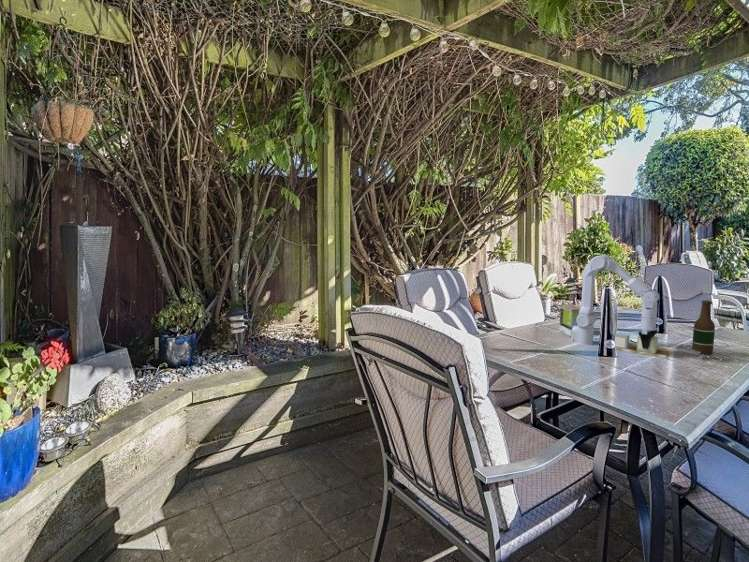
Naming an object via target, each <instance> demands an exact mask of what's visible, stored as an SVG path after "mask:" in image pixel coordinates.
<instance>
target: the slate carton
mask: <svg viewBox="0 0 749 562" xmlns="http://www.w3.org/2000/svg"><path fill="white" fill-rule="evenodd" d="M615 333H616V335H615V342H616V348H621V349H629V343H630V337H631V335H630V334H626V333H619V332H615Z"/></svg>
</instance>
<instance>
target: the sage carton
mask: <svg viewBox="0 0 749 562" xmlns="http://www.w3.org/2000/svg"><path fill="white" fill-rule="evenodd" d="M658 342H659V337H658V336H653V337H652V338H651V341H650V345H649V348H648V349H644V348H642V342H641V338H640V336H639V335H638V336H637V342H636V344H637V351H643V352H649V353H656V352H657V347H658Z"/></svg>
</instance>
